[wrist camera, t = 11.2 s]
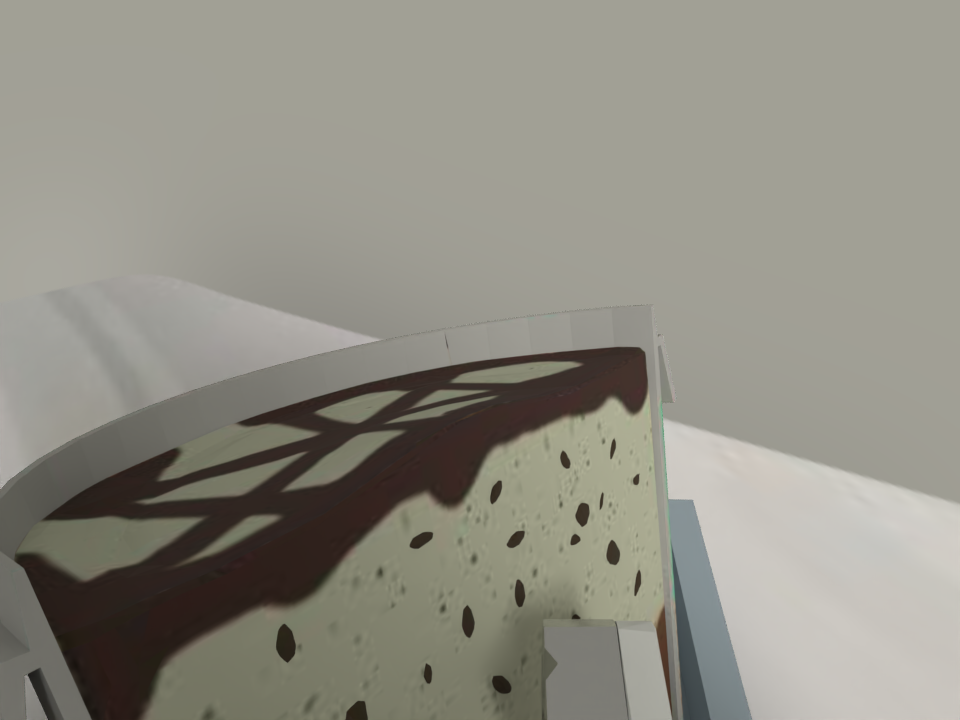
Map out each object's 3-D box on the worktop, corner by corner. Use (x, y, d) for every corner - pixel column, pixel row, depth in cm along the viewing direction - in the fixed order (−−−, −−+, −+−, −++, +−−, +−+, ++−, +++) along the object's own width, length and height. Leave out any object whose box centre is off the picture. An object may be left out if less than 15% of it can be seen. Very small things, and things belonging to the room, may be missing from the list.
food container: (496, 672, 20) (435, 312, 19) (716, 745, 16) (665, 298, 15) (2, 1130, 11) (-218, 504, 9) (232, 1543, 7) (-68, 604, 5)
